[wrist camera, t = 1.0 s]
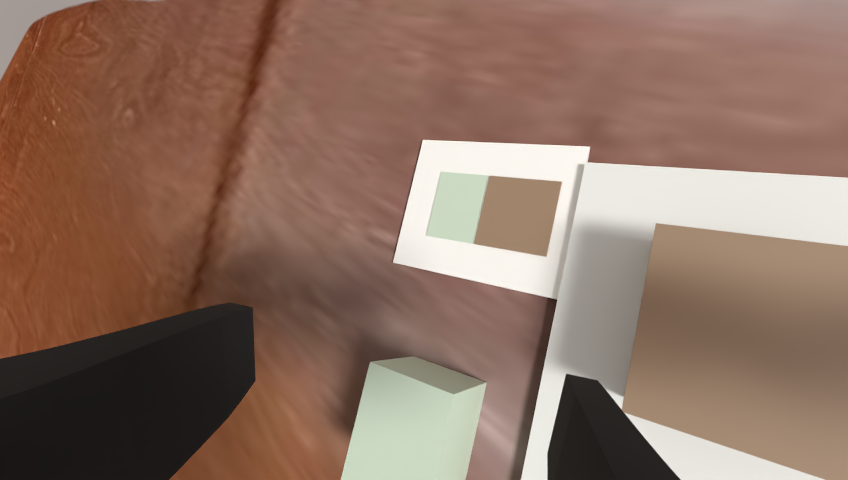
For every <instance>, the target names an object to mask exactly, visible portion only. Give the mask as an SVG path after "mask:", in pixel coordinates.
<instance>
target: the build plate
mask: <svg viewBox="0 0 848 480" xmlns="http://www.w3.org/2000/svg"><path fill="white" fill-rule="evenodd" d="M656 223H659V224H667V225H676V226H684V227H693V228H701V229H709V230H718V231H726V232H734V233H743V234H751V235H759V236H768V237H776V238H785V239H793V240H801V241H810V242H818V243H826V244H835V245H843V246H848V178H842V177H825V176H808V175H791V174H774V173H757V172H740V171H723V170H706V169H689V168H672V167H655V166H638V165H621V164H604V163H587V162H585V166H584V171H583V176H582V181H581V186H580V191H579V196H578V201H577V206H576V211H575V216H574V221H573V226H572V230H571V235H570V240H569V245H568V250H567V255H566V260H565V265H564V270H563V275H562V280H561V285H560V289H559V294H558V299H557V304H556V309H555V314H554V319H553V324H552V329H551V334H550V339H549V344H548V349H547V353H546V358H545V363H544V368H543V373H542V378H541V383H540V388H539V393H538V398H537V403H536V408H535V413H534V417H533V422H532V427H531V432H530V437H529V442H528V447H527V452H526V457H525V462H524V467H523V472H522V477H521V480H547V452H548V448H549V444H550V440H551V436H552V431H553V427H554V423H555V419H556V414H557V410H558V406H559V402H560V397H561V393H562V389H563V385H564V380H565V376H566V374H571V375H575V376H580V377H585V378H590V379H594V380H598V381H599V382H600V384H601V385H602V386H603V387H604V388H605V389H606V391H607V392H608V393H609V394H610V396H611V397H612V398H613V399H614V401H615V402H616V403H617V404H618V406H619V407H620V408H621V409H622V405H623V399H624V393H625V388H626V382H627V377H628V371H629V366H630V360H631V355H632V349H633V344H634V338H635V333H636V327H637V322H638V317H639V311H640V306H641V300H642V295H643V289H644V284H645V278H646V273H647V267H648V262H649V256H650V251H651V245H652V240H653V235H654V230H655V225H656ZM625 414H626V416H627V417H628V418H629V419H630V421H631V422H632V423H633V424H634V425H635V427H636V428H637V429H638V430H639V432H640V433H641V434H642V435H643V436H644V438H645V439H646V440H647V441H648V442H649V444H650V445H651V446H652V447H653V448H654V450H655V451H656V452H657V453H658V454H659V455H660V457H661V458H662V459H663V460H664V461H665V462H666V464H667V465H668V466H669V467H670V468H671V469H672V471H673V472H674V473H675V474H676V475H677V476H678V477H679V478H680V479H681V480H824V479H821V478H818V477H815V476H812V475H809V474H806V473H803V472H800V471H797V470H794V469H791V468H789V467H786V466H783V465H780V464H777V463H774V462H771V461H768V460H765V459H762V458H759V457H756V456H753V455H750V454H747V453H744V452H741V451H738V450H735V449H732V448H729V447H726V446H723V445H720V444H717V443H714V442H711V441H708V440H705V439H702V438H699V437H696V436H693V435H690V434H687V433H684V432H681V431H678V430H675V429H672V428H669V427H666V426H663V425H660V424H657V423H654V422H651V421H648V420H645V419H642V418H639V417H636V416H633V415H630V414H627V413H625Z"/></svg>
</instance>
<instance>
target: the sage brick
mask: <svg viewBox="0 0 848 480" xmlns="http://www.w3.org/2000/svg"><path fill="white" fill-rule="evenodd" d="M486 383H487V382H484V381H481V380H479V379H476V378H473V377H470V376H467V375H465V374H462V373H459V372H456V371H453V370H451V369H448V368H445V367H442V366H440V365H437V364H434V363H431V362H428V361H426V360H423V359H420V358H417V357H414V356H412V357H404V358H396V359H388V360H380V361H373V362H370V364H369V368H368V372H367V376H366V380H365V384H364V388H363V392H362V396H361V400H360V404H359V408H358V412H357V417H356V421H355V425H354V429H353V433H352V437H351V441H350V445H349V449H348V453H347V457H346V461H345V465H344V469H343V473H342V477H341V480H465V479H466V475H467V470H468V466H469V461H470V456H471V452H472V447H473V443H474V438H475V434H476V429H477V424H478V420H479V415H480V411H481V406H482V402H483V397H484V392H485V388H486Z"/></svg>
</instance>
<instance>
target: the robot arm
mask: <svg viewBox="0 0 848 480" xmlns="http://www.w3.org/2000/svg"><path fill="white" fill-rule="evenodd" d="M254 382H255V357H254V332H253V307H248V306H243V305H238V304H234V303H226V304H220V305H215V306H210V307H206V308H202V309H198V310H194V311H190V312H186V313H183V314H179V315H175V316H172V317H168V318H164V319H161V320H157V321H154V322H150V323H146V324H143V325H139V326H135V327H132V328H128V329H125V330H121V331H117V332H113V333H109V334H105V335H101V336H97V337H93V338H89V339H86V340H82V341H78V342H74V343H70V344H66V345H62V346H58V347H54V348H49V349H45V350H41V351H36V352H31V353H27V354H22V355H17V356H12V357H7V358H2V359H0V480H169V479H170V478H171V477H172V476H173V475H174V474H175V473H176V472H177V471H178V470H179V469H180V468H181V467H182V466H183V465H184V464H185V463H186V461H187V460H188V459H189V458H190V457H191V456H192V455H193V454H194V453H195V452H196V451H197V450H198V449H199V448H200V447H201V446H202V445H203V444H204V443H205V442H206V441H207V440H208V438H209V437H210V436H211V435H212V434H213V433H214V432H215V431H216V430H217V429H218V428H219V427H220V426H221V425H222V424H223V422H224V421H225V420H226V419H227V418H228V417H229V416H230V414H231V413H232V412H233V410H234V409H235V408H236V407H237V405H238V404H239V403H240V401H241V400H242V399H243V397H244V396H245V394H246V393H247V392H248V390H249V389H250V387H251V386H252V385H253V383H254ZM547 480H681V479H680V478H679V477H678V476H677V475H676V474H675V473H674V472H673V471H672V469H671V468H670V467H669V466H668V465H667V464H666V462H665V461H664V460H663V459H662V458H661V457H660V455H659V454H658V453H657V452H656V451H655V450H654V448H653V447H652V446H651V445H650V444H649V442H648V441H647V440H646V439H645V438H644V436H643V435H642V434H641V433H640V432H639V430H638V429H637V428H636V427H635V425H634V424H633V423H632V422H631V421H630V419H629V418H628V417H627V416H626V414H625V413H624V412H623V411H622V409H621V408H620V407H619V406H618V404H617V403H616V402H615V401H614V399H613V398H612V397H611V396H610V394H609V393H608V392H607V391H606V389H605V388H604V387H603V386H602V385H601V384H600V382H599V381H598V380H594V379H590V378H585V377H580V376H575V375H571V374H566V376H565V380H564V385H563V389H562V393H561V397H560V402H559V406H558V410H557V414H556V419H555V423H554V427H553V431H552V436H551V440H550V444H549V448H548V452H547Z"/></svg>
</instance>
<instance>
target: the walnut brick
mask: <svg viewBox="0 0 848 480" xmlns="http://www.w3.org/2000/svg"><path fill="white" fill-rule="evenodd" d="M622 411H623V412H624V413H627V414H630V415H633V416H636V417H639V418H642V419H645V420H648V421H651V422H654V423H657V424H660V425H663V426H666V427H669V428H672V429H675V430H678V431H681V432H684V433H687V434H690V435H693V436H696V437H699V438H702V439H705V440H708V441H711V442H714V443H717V444H720V445H723V446H726V447H729V448H732V449H735V450H738V451H741V452H744V453H747V454H750V455H753V456H756V457H759V458H762V459H765V460H768V461H771V462H774V463H777V464H780V465H783V466H786V467H789V468H791V469H794V470H797V471H800V472H803V473H806V474H809V475H812V476H815V477H818V478H821V479H824V480H848V246H843V245H835V244H826V243H818V242H810V241H801V240H793V239H785V238H776V237H768V236H759V235H751V234H743V233H734V232H726V231H718V230H709V229H701V228H693V227H684V226H676V225H667V224H659V223H656V225H655V230H654V235H653V240H652V245H651V251H650V256H649V262H648V267H647V273H646V278H645V284H644V289H643V295H642V300H641V306H640V311H639V317H638V322H637V327H636V333H635V338H634V344H633V349H632V355H631V360H630V366H629V371H628V377H627V382H626V388H625V393H624V399H623V405H622Z"/></svg>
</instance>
